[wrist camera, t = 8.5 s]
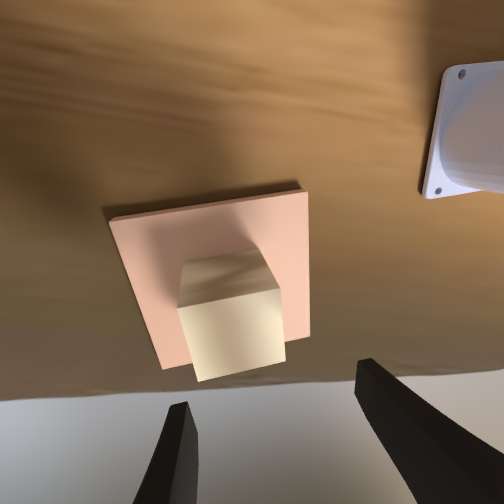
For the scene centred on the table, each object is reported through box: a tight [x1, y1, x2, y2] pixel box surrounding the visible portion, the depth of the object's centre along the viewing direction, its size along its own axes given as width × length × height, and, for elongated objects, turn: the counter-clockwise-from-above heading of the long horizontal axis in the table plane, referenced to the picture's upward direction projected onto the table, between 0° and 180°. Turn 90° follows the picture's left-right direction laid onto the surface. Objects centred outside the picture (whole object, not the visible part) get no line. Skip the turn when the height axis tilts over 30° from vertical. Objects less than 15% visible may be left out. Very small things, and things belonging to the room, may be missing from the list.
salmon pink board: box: [109, 189, 310, 369], centre depth 18 cm, size 12×12×1 cm
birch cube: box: [177, 249, 286, 382], centre depth 15 cm, size 5×5×5 cm
